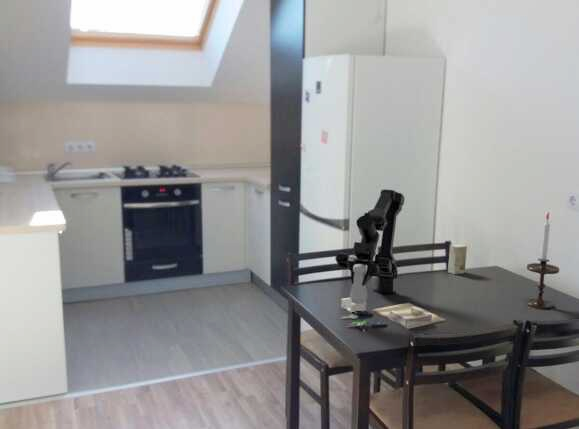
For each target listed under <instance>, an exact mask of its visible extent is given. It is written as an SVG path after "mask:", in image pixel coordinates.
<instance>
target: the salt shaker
mask: <svg viewBox="0 0 579 429" xmlns="http://www.w3.org/2000/svg"><path fill="white" fill-rule="evenodd" d="M353 271H354V272H355V274H354V278H353V279H354V280H353V284H352V283H351V288H350V292H349V297H350V298H351V300H352V302H353V303H355V304H363V303H365V302H366V301H367V298H368V291H367V285H366V284H367V283H366V284H365V285H364V286H363V285H362V284H363V279H364V276H365V273H366V271H367V266H366V265H362V264H356V265H354V266H353Z"/></svg>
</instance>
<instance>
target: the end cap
mask: <svg viewBox="0 0 579 429" xmlns="http://www.w3.org/2000/svg"><path fill="white" fill-rule="evenodd" d="M340 307H341V308H342V309H344V310H345V309H346V310H345V311H347V312H349V313H351V314H353V313H352V312H355V311H361V312H365V311H367V302H366V301H365V303H363V304H355V303H353V302H352V300H351V298H350V296H349V297H346V298H345V297H343V298H341V301H340ZM355 313H356V312H355Z"/></svg>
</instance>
